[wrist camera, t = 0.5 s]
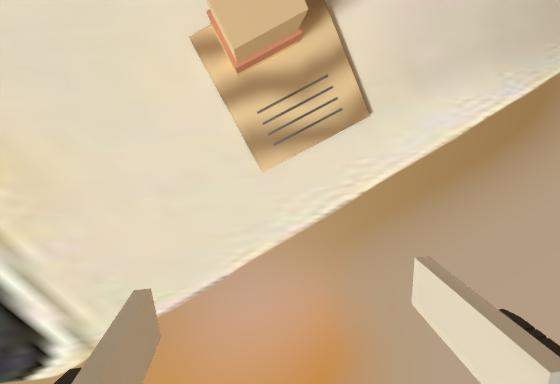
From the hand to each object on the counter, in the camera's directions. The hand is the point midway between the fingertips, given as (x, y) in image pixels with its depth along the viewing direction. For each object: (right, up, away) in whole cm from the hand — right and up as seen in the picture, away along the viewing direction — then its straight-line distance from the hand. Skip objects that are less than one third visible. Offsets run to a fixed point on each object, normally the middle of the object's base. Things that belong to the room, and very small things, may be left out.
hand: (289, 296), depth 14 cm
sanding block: (-3, +24, +19) cm, 30 cm away
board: (0, +19, +21) cm, 28 cm away
